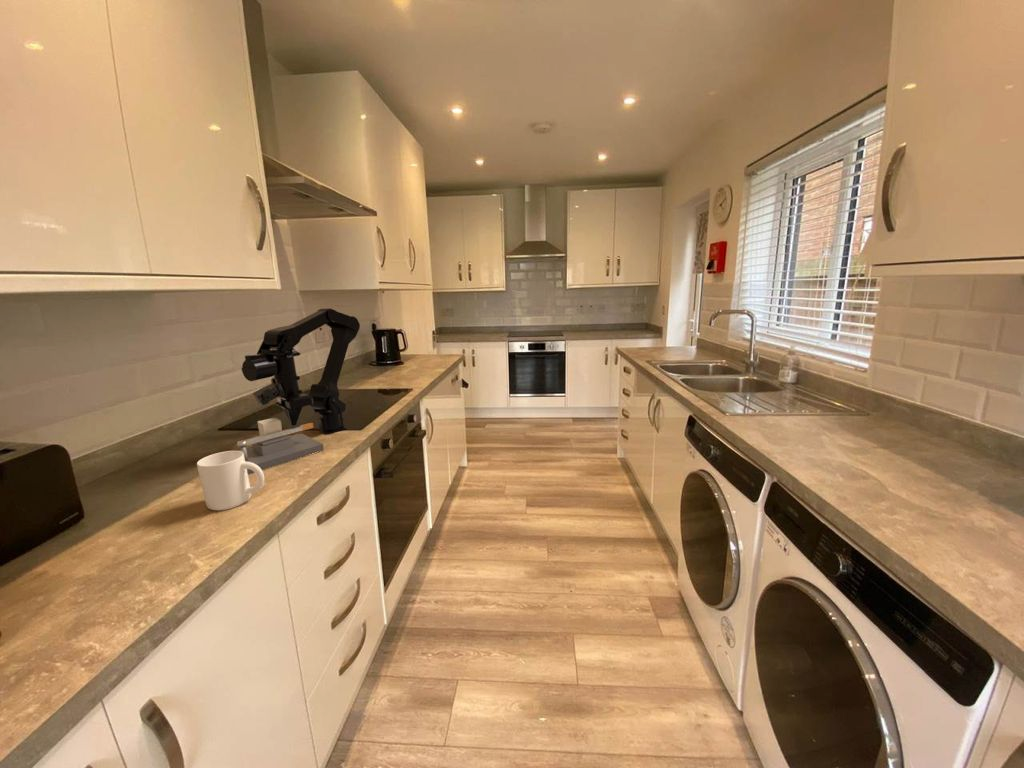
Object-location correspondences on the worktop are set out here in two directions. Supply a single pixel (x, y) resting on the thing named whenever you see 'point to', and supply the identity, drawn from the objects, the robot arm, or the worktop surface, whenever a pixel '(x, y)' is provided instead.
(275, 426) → the plug
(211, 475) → the mug
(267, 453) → the socket block
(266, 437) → the latch bar
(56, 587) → the worktop surface
